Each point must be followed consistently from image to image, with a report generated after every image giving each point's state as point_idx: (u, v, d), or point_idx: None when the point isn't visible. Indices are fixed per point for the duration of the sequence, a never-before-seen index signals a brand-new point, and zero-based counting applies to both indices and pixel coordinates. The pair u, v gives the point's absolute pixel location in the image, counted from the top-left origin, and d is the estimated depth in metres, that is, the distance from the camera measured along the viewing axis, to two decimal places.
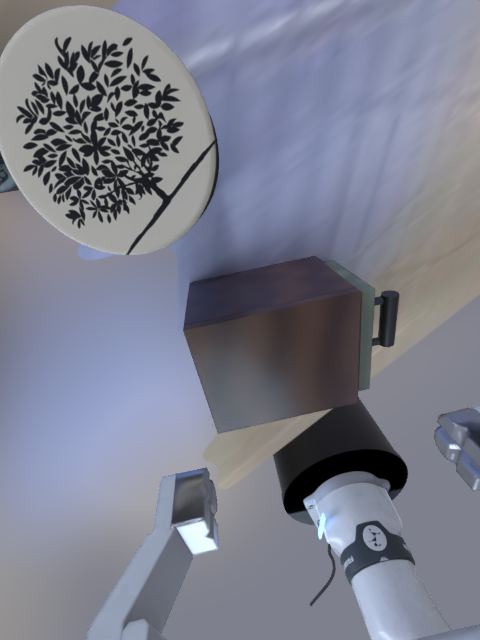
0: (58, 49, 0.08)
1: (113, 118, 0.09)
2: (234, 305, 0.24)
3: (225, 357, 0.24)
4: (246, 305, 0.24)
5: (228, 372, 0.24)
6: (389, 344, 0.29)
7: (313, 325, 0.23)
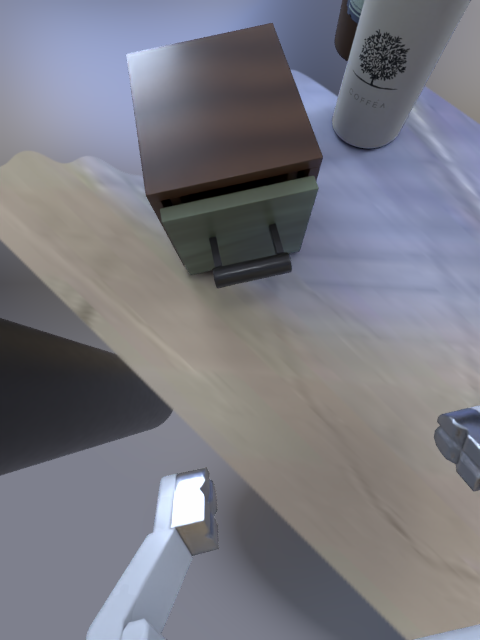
0: None
1: None
2: None
3: (238, 52, 0.22)
4: None
5: (218, 56, 0.22)
6: (217, 271, 0.21)
7: (277, 120, 0.20)
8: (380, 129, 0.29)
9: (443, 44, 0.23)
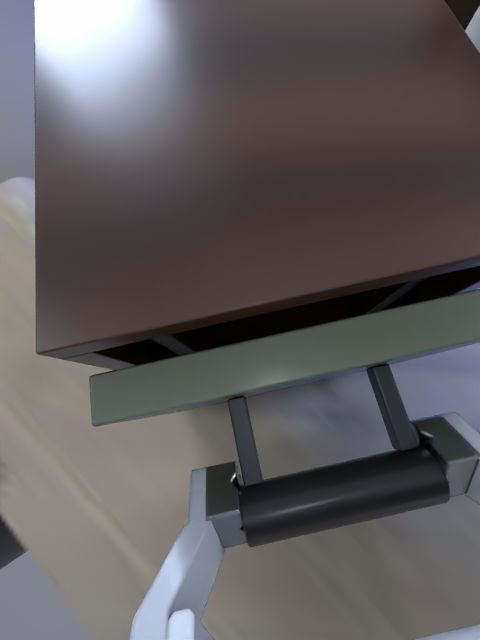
0: None
1: None
2: None
3: None
4: None
5: None
6: (255, 518, 0.08)
7: (426, 114, 0.07)
8: None
9: None
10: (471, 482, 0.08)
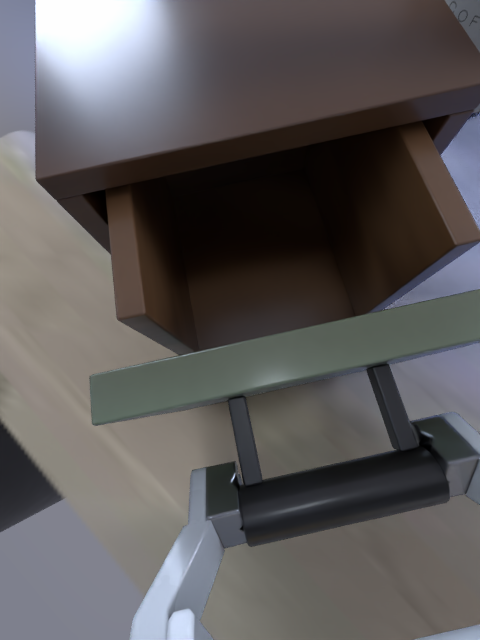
0: None
1: None
2: None
3: None
4: None
5: None
6: (255, 518, 0.08)
7: (366, 2, 0.08)
8: None
9: None
10: (471, 482, 0.08)
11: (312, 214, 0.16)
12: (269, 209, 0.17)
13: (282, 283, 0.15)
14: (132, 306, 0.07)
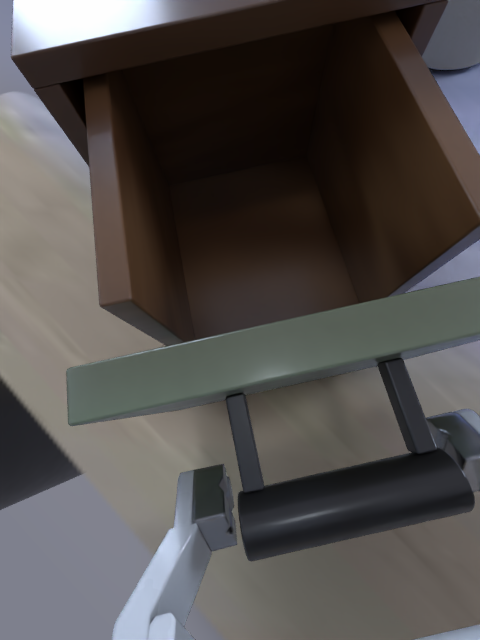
0: None
1: None
2: None
3: None
4: None
5: None
6: (256, 530, 0.07)
7: None
8: None
9: None
10: None
11: (316, 203, 0.16)
12: (270, 198, 0.16)
13: (283, 275, 0.14)
14: (117, 291, 0.06)
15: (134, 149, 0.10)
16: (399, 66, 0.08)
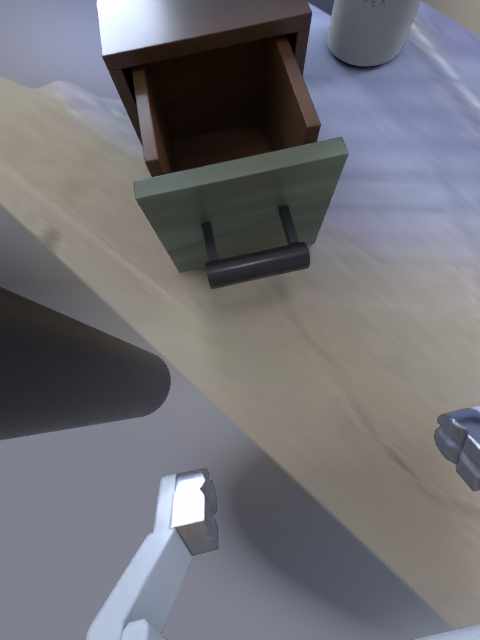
0: None
1: None
2: None
3: None
4: None
5: None
6: (212, 266, 0.16)
7: None
8: (380, 38, 0.26)
9: None
10: None
11: (266, 150, 0.24)
12: (237, 147, 0.25)
13: None
14: (152, 156, 0.15)
15: (155, 105, 0.19)
16: (284, 61, 0.17)
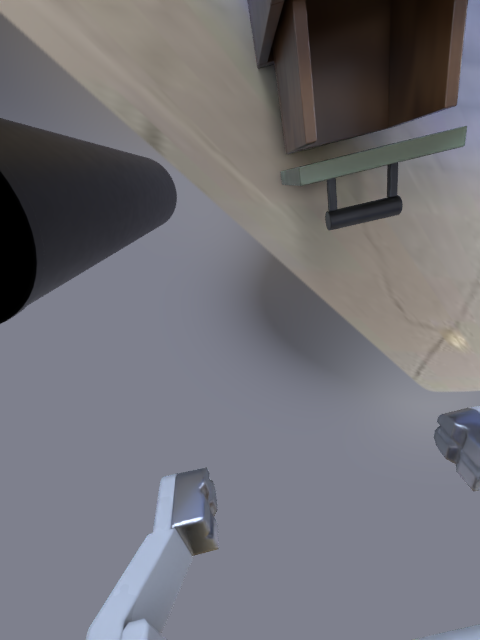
0: None
1: None
2: None
3: None
4: None
5: None
6: (335, 220, 0.23)
7: None
8: None
9: None
10: None
11: (384, 28, 0.22)
12: (353, 19, 0.22)
13: (350, 97, 0.24)
14: (312, 137, 0.19)
15: None
16: None
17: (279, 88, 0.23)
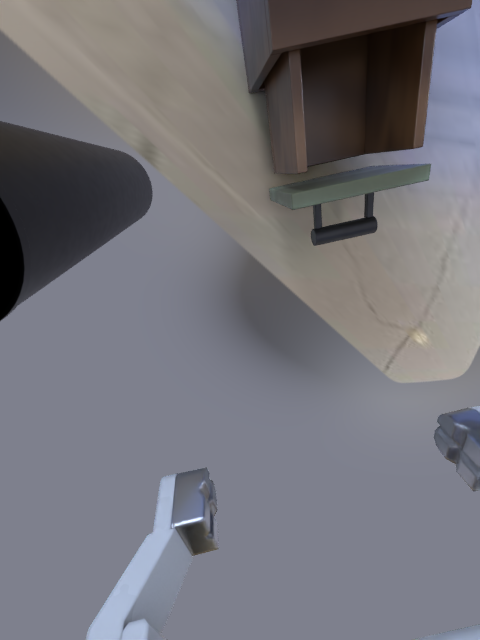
0: None
1: None
2: None
3: None
4: None
5: None
6: (320, 237, 0.26)
7: None
8: None
9: None
10: None
11: (362, 67, 0.25)
12: (336, 58, 0.24)
13: (332, 126, 0.27)
14: (303, 168, 0.21)
15: None
16: (423, 56, 0.19)
17: (270, 115, 0.25)
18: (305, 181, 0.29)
